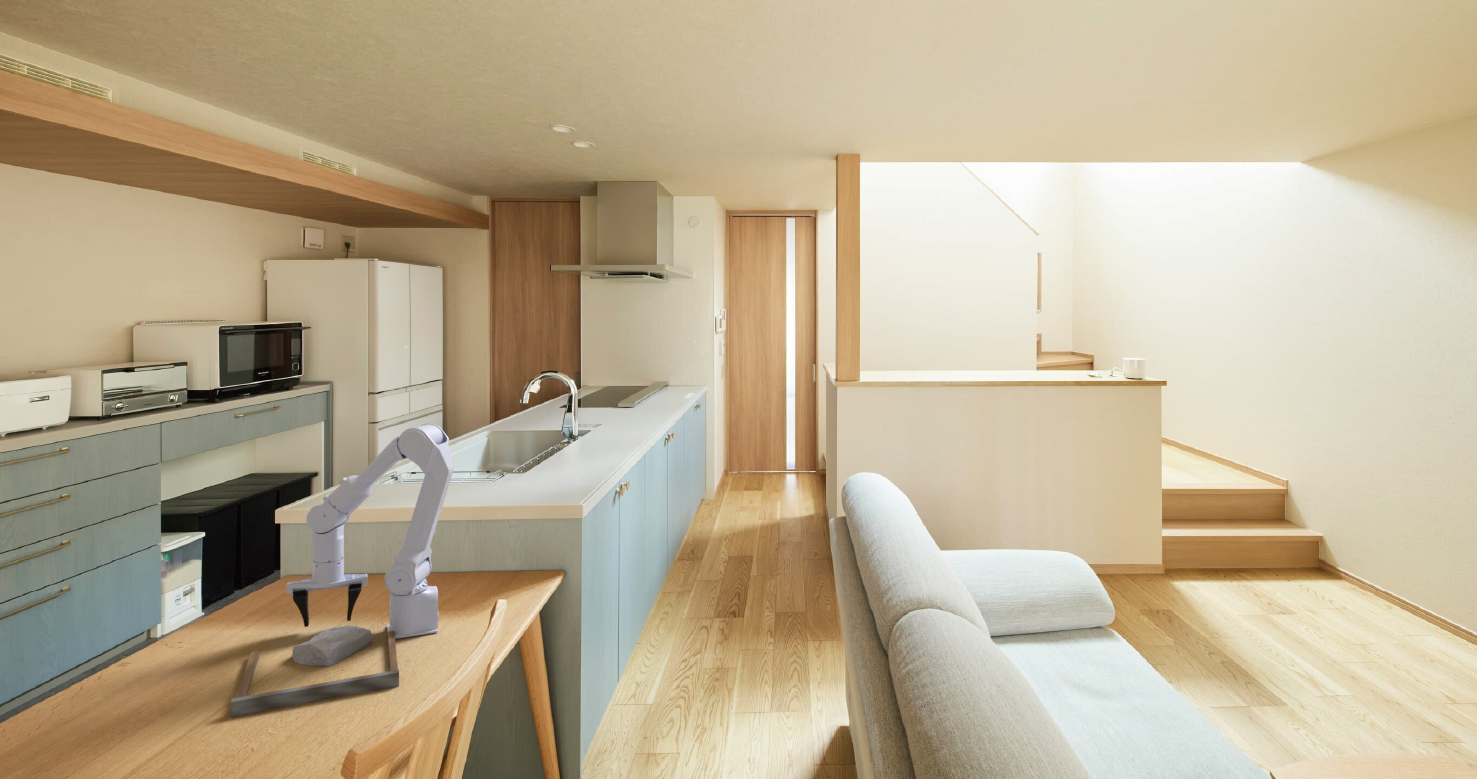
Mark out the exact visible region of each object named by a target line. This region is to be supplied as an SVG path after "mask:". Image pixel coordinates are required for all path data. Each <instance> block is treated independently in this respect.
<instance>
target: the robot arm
mask: <svg viewBox="0 0 1477 779" xmlns="http://www.w3.org/2000/svg"><path fill="white" fill-rule="evenodd" d="M449 443H450V438H449V437H448V435H447V434H446V433H445V431H444V429H442V427H440V426H439V425H438V424H435V423H430V422H429V423H428V422H427V423H424V424H422V425H420V426H415V427H411V428H410V427H409V428H407V429H405V430H404V431H403V432H402V433H401V434H400V435H399V436H397V437H395V438H394V439H392V440H391V441H390V443H388V445H386V447H385V448H384V449H383V450H381V451H380V453H379V454H378V455H377V456H376V457H375V458H374V459H373V460H372V461H371V462H370V464H369V465H367V467H366V468H364V469H363V471H362V472H361V473H359V474H358V475H355V474H354V475H353V474H352V475H349V476H348V477H347V476H346V477H342V478H341V479H340V480H339V481H338V484H339V486H337V488H335V489H334V490H333V491H332V492H331V493H330V494H327V495H325V496H324V497H323V498H322V500H323V503H322V504H321V503H320V504H316V505H314V506H312V507H311V508H310V509H309V511H308V512H307V515H306V520H305V521H306V525H307V527H308V528H309V529H310V530H311V535H312V536H311V539H312V540H311V541H312V542H311V550H312V551H311V557H312V558H311V565H312V566H311V567H312V568H311V569H312V572H311V573H312V574H311V578H306V579H302V580H296V581H290V582H287V583H286V595H292V600H293V602H294V604H295V605H296V607H297V608H298V611H299V612H300V615H301V617H302V622H303V626H304V628H308V627H309V624H310V614H309V592H310V591H319V590H329V589H337V588H344V587H345V588H346V587H347V588H348V589H347V599H348V600H347V604H348V605H347V612H346V613H347V614H346V621H347V622H350V621H352V614H353V612H354V611H353V610H354V607H355V605H356V603H357V600H358V598H359V596H360V594H361V592H362V587H364V586H368V573H360V574H358V573H356V574H355V573H354V574H351V573H350V574H345V573H344V572H345V546H344V545H345V544H344V543H345V532H344V531H345V526H346V523H347V522H348V521H349V519H350V515H351V514H352V513H353V512H355V511H356V510H357V509H358V508H359V507H360V506H361V505H362V504H363V503H364V502H365V501H366V500H367V499H368V498H369V497H370V496H371V495H372V493H373V485H374V484H375V483H376V482H377V481H378V480H379V479H380V478H382V477H383V476H384V475H385V474H386V473H387V472H389V470H390V469H392V468H393V467H394V466H396V464H397V463H398V462H400V461H402V460H405V459H408V460H410V461H411V462H413V463H414V464H415V465H417V466H418V467H419V468H420V470H421V471H422V473H423V475H424V477H423V481H422V484H421V486H420V490H419V493H418V497H417V499H416V504H415V507H414V509H413V513H412V516H411V519H410V521H409V522H410V523H409V527H408V530H407V532H406V536H405V539H404V542H403V546H402V547H401V548H400V550H399V551H398V553H397V555H396V557H395V559H394V562H393V564H392V566H391V567H390V568H389V569H388V570H387V571H386V573H385V575H384V585H385V587H386V588H387V590H388V591H389V623H387V624H386V631H387V634H388V631H394V633H395V640H396V639H402V638H409V637H417V636H422V635H428V634H436V633H438V632H439V620H440V612H439V592H438V590H439V589H438V587H437V585H433V586H432V585H428V582H427V578H428V577H429V575H430V574H431V571H432V567H433V566H432V560H431V559H432V553H433V549H432V548H431V545H432V541H433V538H434V535H435V531H436V528H437V525H438V521H439V518H440V516H441V513H442V508H443V505H444V502H445V499H446V496H447V493H448V489H449V486H450V483H451V479H452V476H453V474H454V463H453V460H452V456H451V452H450V451H451V450H450V446H449Z"/></svg>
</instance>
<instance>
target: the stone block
mask: <svg viewBox="0 0 1477 779" xmlns="http://www.w3.org/2000/svg"><path fill="white" fill-rule="evenodd" d="M372 637H373V634H372V629H368V628H365V627H359V626H357V625H348V624H347V625H343V626H340V625H339V626H337V627H331V628H328V629H326V630H325V631H323V632H320V633H318V634H316V635H314V636H312V638H311V639H309V640H308V641H305V642H303V643H298V644H297V645H295V646H293V648H292V655H291V656H292V658H293V659H292V660H293V662H294V663H297V664H300V665H306V666H307V665H308V666H310V665H311V666H317V667H327V668H329V667H331V666H334V665H335V664H337V663H339V662H341V661H342V660H344V659H346V658H348V657H349V656H352V655H353V654H355V653H356V652H358V651H360V650H362V649H364V648H366V647H367V646H368V645H369V644H370V643H371V642H372Z"/></svg>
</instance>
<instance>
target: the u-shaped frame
mask: <svg viewBox="0 0 1477 779" xmlns="http://www.w3.org/2000/svg"><path fill="white" fill-rule="evenodd" d="M387 644H388V657H389V658H388V659H389V671H383V672H379V673H378V672H377V673H373V674H366V675H361V676H360V675H359V676H355V677H350V678H349V677H348V678H343V679H337V680H331V681H325V682H321V683H320V682H319V683H314V684H308V685H303V686H298V687H292V688H285V689H280V690H274V691H268V692H263V693H257V694H252V695H248V692H249V689H250V685H251V683H252V680H253V678H254V675H255V671H256V669H257V664H258V662H259V659H260V650H255V651H251V653H250V656H249V658H248V660H247V665H246V667H245V669H244V672H243V674H242V678H241V680H240V683H239V686H238V689H237V692H236V694H235V697H233V698H231V700H230V717H231V718H232V717H238V716H245V715H250V714H254V713H255V714H256V713H260V712H265V711H271V710H277V709H282V708H286V707H287V708H288V707H294V706H298V705H303V704H308V703H309V704H310V703H314V702H315V703H316V702H319V701H320V702H321V701H325V700H330V699H336V698H340V697H341V698H343V697H347V696H353V695H358V694H359V695H360V694H363V693H369V692H374V691H380V690H386V689H391V688H396V687H400V670H399V666H398V664H399V663H398V656H397V647H396V639H395V633H394V631H388V633H387Z"/></svg>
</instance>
